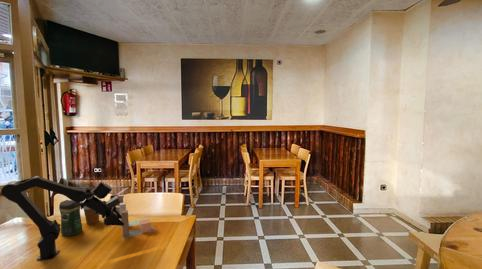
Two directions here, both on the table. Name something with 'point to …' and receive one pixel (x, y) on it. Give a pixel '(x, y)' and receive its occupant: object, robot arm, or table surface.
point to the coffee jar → (70, 218)
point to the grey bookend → (131, 223)
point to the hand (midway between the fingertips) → (122, 221)
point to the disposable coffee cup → (90, 216)
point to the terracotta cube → (145, 226)
